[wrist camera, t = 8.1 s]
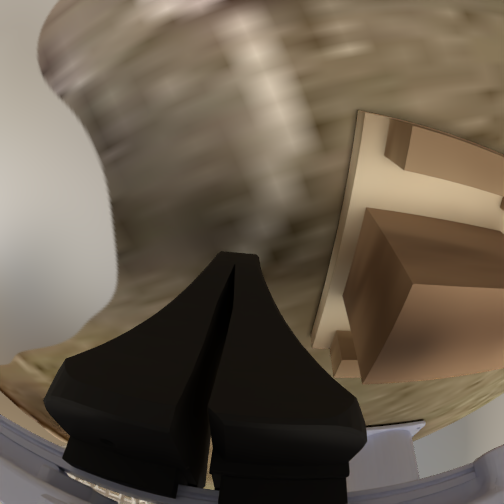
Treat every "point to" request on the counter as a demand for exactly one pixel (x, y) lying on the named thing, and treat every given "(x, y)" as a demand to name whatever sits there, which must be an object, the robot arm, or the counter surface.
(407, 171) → the tapered wooden tray
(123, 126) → the counter surface
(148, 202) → the counter surface
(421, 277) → the tan upright prism
